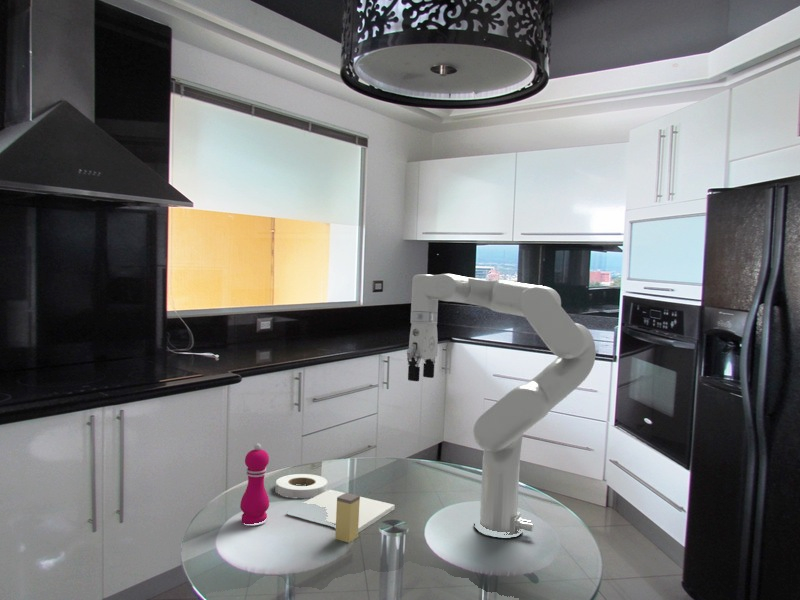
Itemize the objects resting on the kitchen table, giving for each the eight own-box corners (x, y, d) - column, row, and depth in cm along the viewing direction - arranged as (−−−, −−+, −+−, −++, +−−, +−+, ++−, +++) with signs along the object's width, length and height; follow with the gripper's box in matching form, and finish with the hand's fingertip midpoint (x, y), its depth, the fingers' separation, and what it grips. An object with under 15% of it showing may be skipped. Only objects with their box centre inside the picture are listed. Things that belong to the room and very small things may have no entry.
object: (306, 479, 176) (307, 470, 176) (337, 492, 165) (337, 482, 165) (265, 489, 165) (265, 479, 165) (294, 503, 154) (295, 493, 154)
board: (394, 509, 152) (394, 504, 152) (356, 534, 135) (356, 529, 135) (329, 493, 163) (329, 489, 163) (286, 514, 145) (286, 510, 145)
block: (357, 536, 133) (359, 495, 133) (349, 542, 130) (351, 500, 130) (344, 533, 135) (346, 492, 135) (335, 538, 132) (337, 497, 132)
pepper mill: (239, 528, 135) (243, 447, 135) (239, 517, 142) (243, 440, 142) (269, 526, 137) (272, 446, 137) (268, 515, 144) (271, 439, 144)
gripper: (422, 319, 144) (419, 383, 144) (448, 319, 159) (445, 377, 159) (397, 317, 147) (394, 380, 147) (424, 317, 163) (422, 374, 162)
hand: (421, 379), depth 153 cm, fingers open, 9 cm apart
